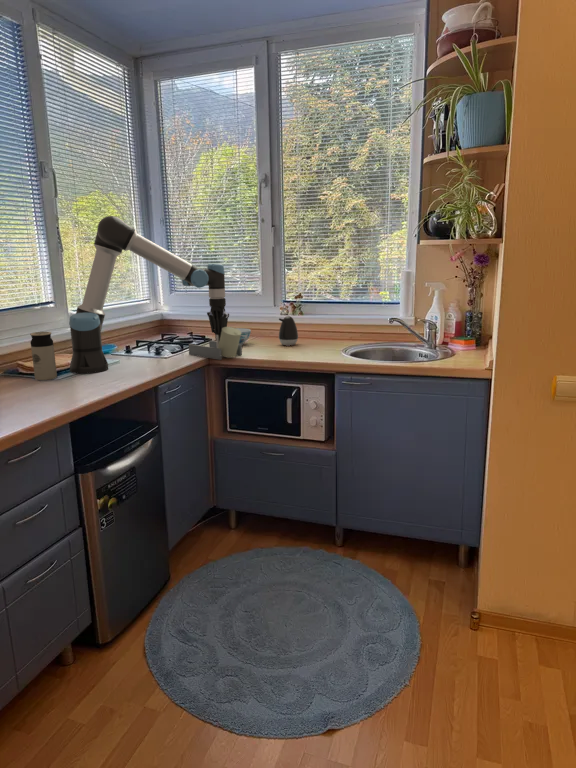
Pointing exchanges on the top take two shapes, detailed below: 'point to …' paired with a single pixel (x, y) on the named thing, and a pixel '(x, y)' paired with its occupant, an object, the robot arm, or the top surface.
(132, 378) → the top surface
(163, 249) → the robot arm
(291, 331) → the pump dispenser
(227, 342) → the can
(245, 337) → the chinaware
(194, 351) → the channel
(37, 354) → the travel mug
